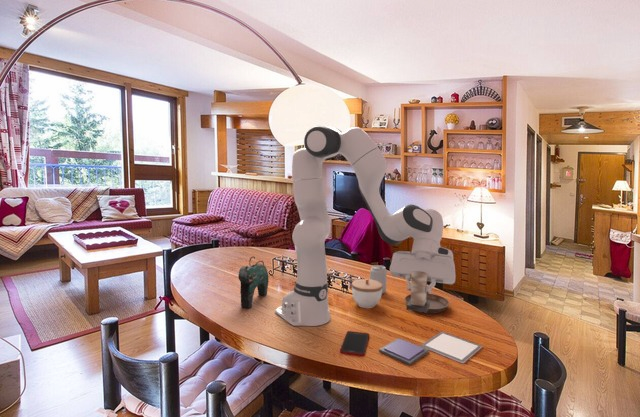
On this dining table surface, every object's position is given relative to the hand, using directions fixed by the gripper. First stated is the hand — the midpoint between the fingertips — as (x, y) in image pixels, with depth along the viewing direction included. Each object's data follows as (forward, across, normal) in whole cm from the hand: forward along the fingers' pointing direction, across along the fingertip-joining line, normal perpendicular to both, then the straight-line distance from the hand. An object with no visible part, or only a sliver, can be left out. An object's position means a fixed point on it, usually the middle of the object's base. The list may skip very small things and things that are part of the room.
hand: (418, 291), depth 114 cm
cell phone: (+17, -19, +12) cm, 28 cm away
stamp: (+3, 0, +4) cm, 5 cm away
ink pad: (+15, -4, +13) cm, 20 cm away
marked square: (+8, +10, +20) cm, 24 cm away
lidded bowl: (-7, -26, +35) cm, 44 cm away
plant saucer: (-14, -4, +43) cm, 45 cm away
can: (-19, -26, +47) cm, 57 cm away
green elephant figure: (+6, -70, +22) cm, 74 cm away
